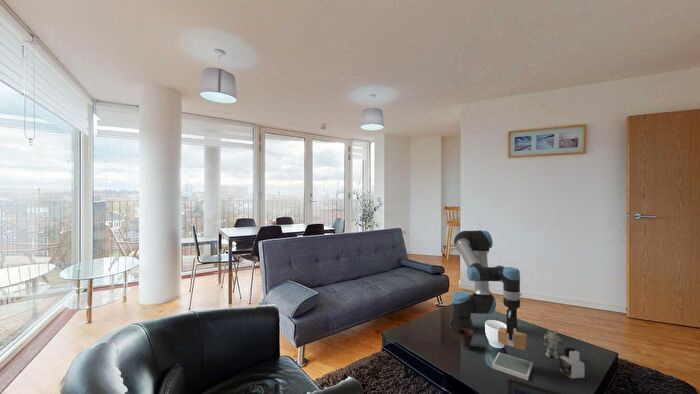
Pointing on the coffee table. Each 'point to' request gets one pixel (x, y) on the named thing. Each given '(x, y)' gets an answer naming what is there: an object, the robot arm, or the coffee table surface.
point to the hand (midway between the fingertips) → (512, 343)
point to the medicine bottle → (572, 364)
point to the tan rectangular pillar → (519, 338)
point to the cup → (465, 337)
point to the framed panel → (512, 366)
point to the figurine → (552, 343)
